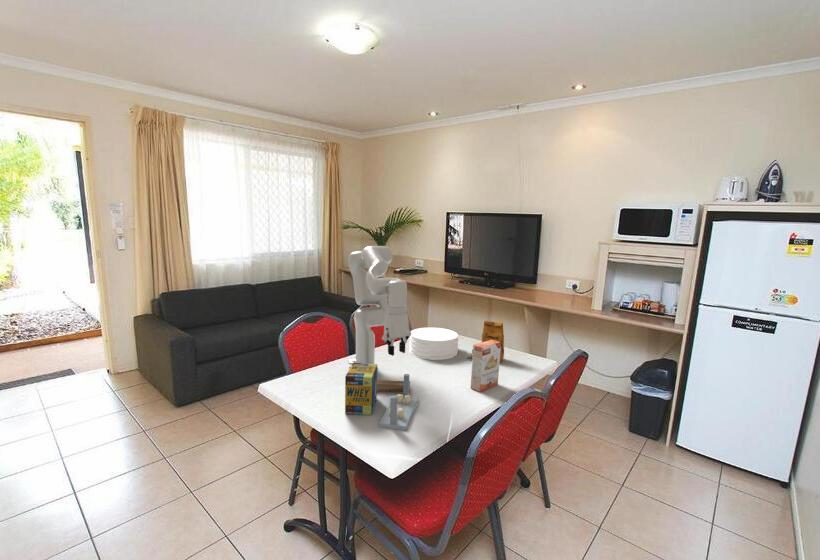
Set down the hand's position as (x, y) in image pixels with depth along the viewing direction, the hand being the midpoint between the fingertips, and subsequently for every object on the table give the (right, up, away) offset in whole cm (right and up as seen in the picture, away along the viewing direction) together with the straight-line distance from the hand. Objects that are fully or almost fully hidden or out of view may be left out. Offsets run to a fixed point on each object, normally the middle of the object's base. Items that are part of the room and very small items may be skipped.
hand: (396, 353), depth 160 cm
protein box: (-14, -21, -4) cm, 25 cm away
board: (-3, -19, +12) cm, 23 cm away
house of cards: (+42, -15, +54) cm, 70 cm away
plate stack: (+19, -12, +65) cm, 69 cm away
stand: (+2, -22, -9) cm, 24 cm away
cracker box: (+40, -19, +18) cm, 48 cm away
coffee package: (+51, -15, +55) cm, 76 cm away
